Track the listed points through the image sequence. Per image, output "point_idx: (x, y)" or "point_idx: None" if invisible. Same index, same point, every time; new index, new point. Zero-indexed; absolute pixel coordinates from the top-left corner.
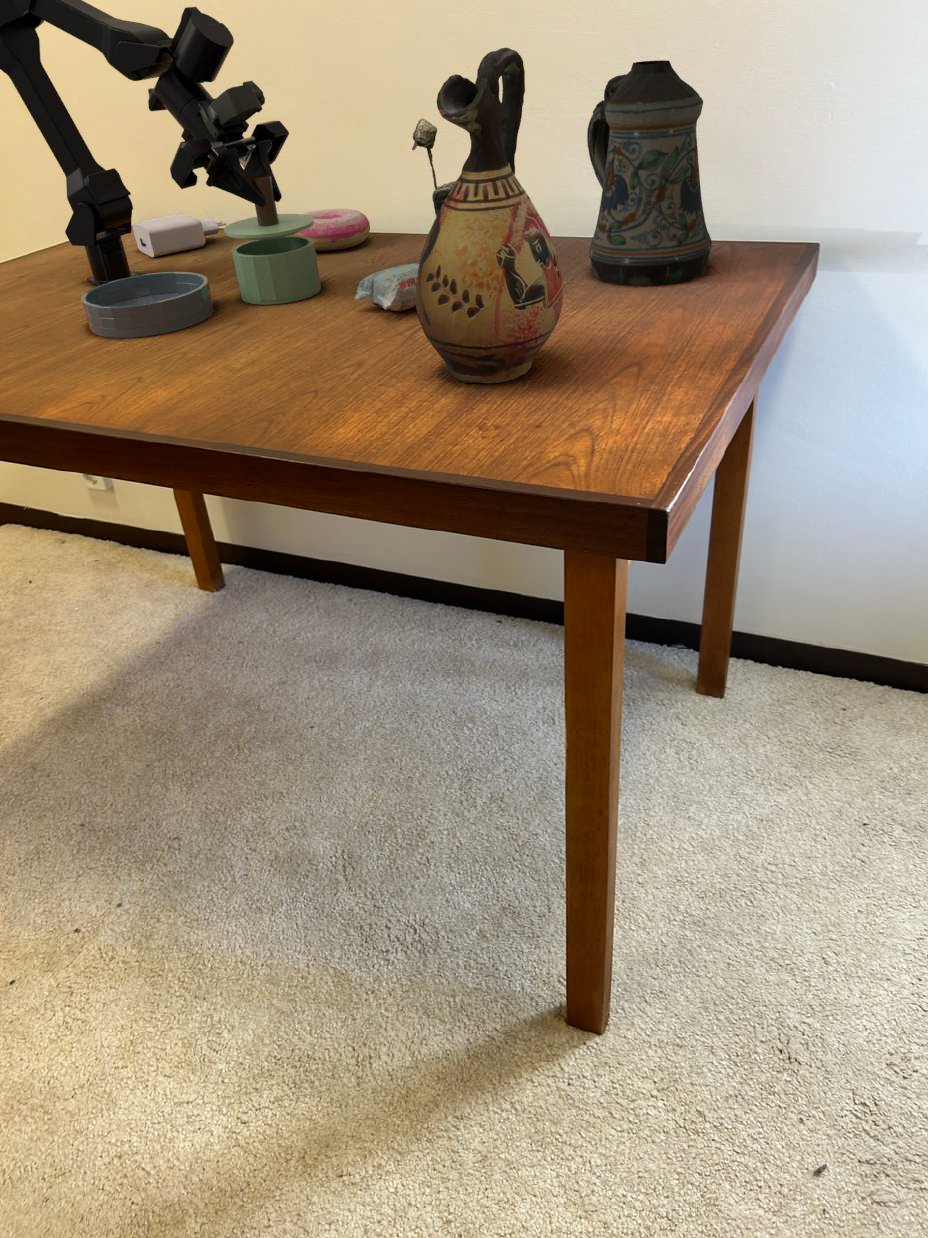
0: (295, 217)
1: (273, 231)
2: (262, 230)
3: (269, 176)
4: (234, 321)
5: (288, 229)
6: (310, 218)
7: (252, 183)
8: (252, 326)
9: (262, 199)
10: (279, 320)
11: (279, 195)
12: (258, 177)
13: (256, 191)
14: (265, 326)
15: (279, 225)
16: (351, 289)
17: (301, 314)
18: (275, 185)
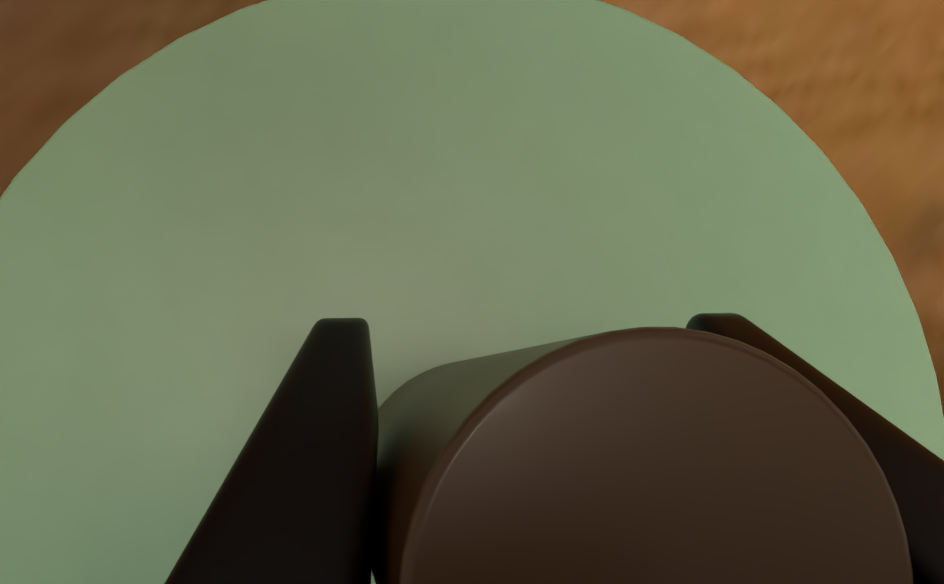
0: (93, 381)
1: (735, 149)
2: (741, 308)
3: (572, 358)
4: (916, 298)
5: (622, 38)
6: (96, 137)
7: (933, 531)
8: (933, 137)
9: (762, 335)
10: (810, 62)
11: (366, 327)
12: (755, 573)
13: (861, 417)
14: (907, 69)
15: (506, 276)
16: (182, 20)
17: (690, 10)
18: (325, 429)
